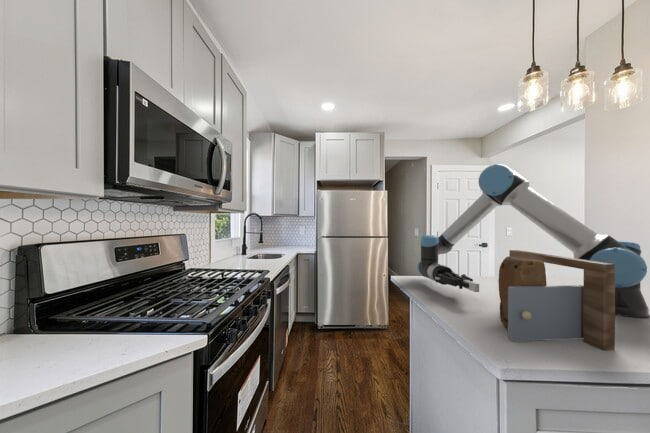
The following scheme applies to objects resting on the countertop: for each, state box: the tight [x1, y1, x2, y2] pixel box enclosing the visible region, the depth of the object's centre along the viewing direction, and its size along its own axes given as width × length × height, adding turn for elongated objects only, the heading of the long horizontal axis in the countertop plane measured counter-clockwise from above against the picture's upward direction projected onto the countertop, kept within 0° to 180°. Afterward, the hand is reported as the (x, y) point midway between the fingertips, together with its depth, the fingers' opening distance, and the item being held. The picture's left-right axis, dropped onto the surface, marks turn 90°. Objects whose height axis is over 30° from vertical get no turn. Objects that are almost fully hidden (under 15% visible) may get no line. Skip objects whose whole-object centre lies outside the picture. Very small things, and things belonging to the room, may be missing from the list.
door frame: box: [508, 249, 616, 351], centre depth 78 cm, size 3×28×20 cm, turn 6°
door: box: [507, 284, 584, 342], centre depth 68 cm, size 21×3×13 cm, turn 96°
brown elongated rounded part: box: [498, 256, 548, 330], centre depth 75 cm, size 11×8×20 cm
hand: (477, 288), depth 93 cm, fingers closed
